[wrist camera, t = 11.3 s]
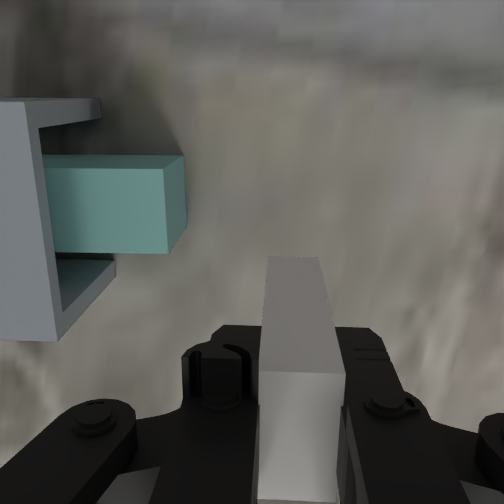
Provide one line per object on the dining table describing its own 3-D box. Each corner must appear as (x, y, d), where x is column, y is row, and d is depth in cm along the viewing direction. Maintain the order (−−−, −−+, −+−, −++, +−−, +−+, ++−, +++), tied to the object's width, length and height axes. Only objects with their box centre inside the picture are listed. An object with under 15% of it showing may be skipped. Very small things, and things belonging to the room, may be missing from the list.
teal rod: (184, 154, 26) (162, 169, 22) (187, 225, 28) (168, 254, 23) (-131, 152, 27) (-218, 166, 23) (-114, 221, 29) (-193, 247, 24)
